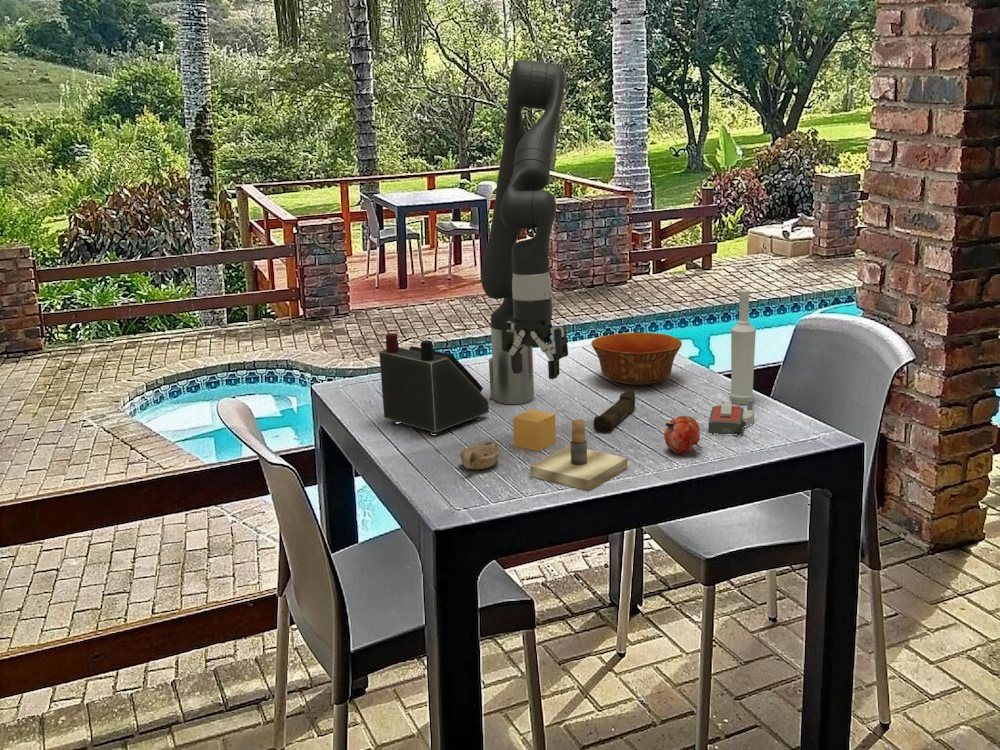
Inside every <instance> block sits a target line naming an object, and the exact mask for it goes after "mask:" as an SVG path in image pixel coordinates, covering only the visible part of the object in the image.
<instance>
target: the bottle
mask: <svg viewBox="0 0 1000 750" xmlns="http://www.w3.org/2000/svg"><path fill="white" fill-rule="evenodd" d="M738 293H739V295H738V296H739V298H738V299H739V306H738V308H739V309H738V310H739V311H738V321H737V323H736V324H735V325H734V326H733V327H731V330H730V334H731V335H730V337H731V338H730V342H731V343H730V348H731V350H730V351H731V352H730V353H731V354H730V358H731V359H730V360H731V361H730V362H731V363H730V367H731V370H730V373H731V374H730V376H731V377H730V378H731V379H730V382H731V383H730V385H731V387H730V388H731V389H730V393H729V400H730V401H729V402H733V403H734V404H733V405H737V404H748V402H750V401H751V402H752V403H753V402H754V400H755V399H754V398H755V397H754V396H755V394H754V373H755V371H754V370H755V351H756V350H755V349H756V334H757V333H756V331H757V329H756V328H755V327H754V326H753V325H752V324H751V321H749V313H750V312H749V310H750V309H749V308H750V304H749V303H750V290H749V289H740V290H739V292H738Z"/></svg>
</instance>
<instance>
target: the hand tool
mask: <svg viewBox="0 0 1000 750" xmlns="http://www.w3.org/2000/svg"><path fill="white" fill-rule="evenodd" d="M635 407H636V394H635V390H633V389H628V390H625V391H624V392H622V393H621V394H620V395H619V399H618V401H617V402H615V403H614V404H612V405H611V406H610V407H609V408H608V409H606V410H605V411H604V412H602V413H601V414H600V415H595V416H594V419H593V422H592V423H593V429H594V431H595V432H597V433H603V434H608V433H611V431H613V428H614V427H615V425H616V424H617V423H619V422H620V421H622V419H624V417H626V416H628V415H632V414H633V413H634V410H635Z"/></svg>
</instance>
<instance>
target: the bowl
mask: <svg viewBox="0 0 1000 750" xmlns="http://www.w3.org/2000/svg"><path fill="white" fill-rule="evenodd" d="M590 344H591V346H592V348H593V350H594V352H595V354H596V355H597V358H598V361H599V364H600V371H601V373H602V374H603V376H604V377H605V378H607V379H609V380H611V381H612V382H613V381H614V382H617V383H620V384H624V385H629V386H630V385H633V386H634V385H635V386H640V385H641V386H642V385H651V384H656V383H659V382H663V381H665V380H666V379H667V378H669V376H670V375H671V372H672V368H673V365H674V360H675V359H676V356H677V354H678V352H679V351H680V349H681V347H682V344H683V342H682V340H681V339H680V338H677V337H675V336H672V335H669V334H665V333H658V332H657V333H655V332H623V333H615V334H607V335H604V336H603V335H602V336H600V337H596V338H594V339H592V341H591V343H590Z"/></svg>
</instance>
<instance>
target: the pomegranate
mask: <svg viewBox="0 0 1000 750" xmlns="http://www.w3.org/2000/svg"><path fill="white" fill-rule="evenodd" d="M664 427H666V428H665V430H664V433H663V438H664V442H665V445H666V446H667V447H668V448H669V449H671V450H672V451H673V452H674V453H676V454H679V455H688V454H690V453H691V452H692V451H693V446H697V447H698V448H700V449H701V448H702V449H703V447H702V446H700V445H699V444H698V443H699V442H700V436H701V430H700V425H699V423H698V422H697V421H696V419H694V418H693V417H692V416H690V415H679V416H677V417H676V418H674V419H671V420H670V421H669V423H668V422H666V423H665V425H664Z"/></svg>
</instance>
